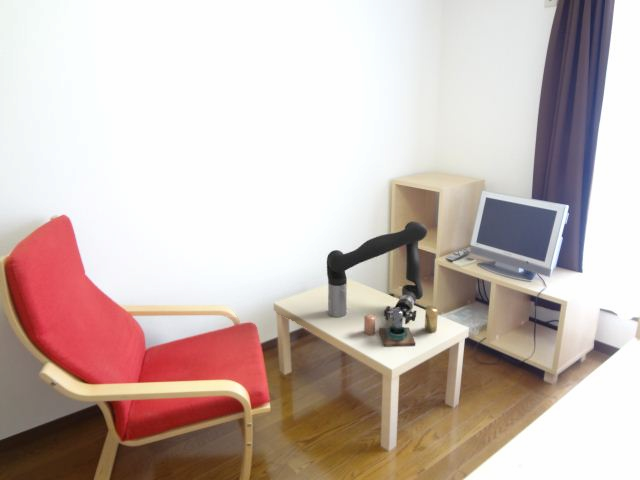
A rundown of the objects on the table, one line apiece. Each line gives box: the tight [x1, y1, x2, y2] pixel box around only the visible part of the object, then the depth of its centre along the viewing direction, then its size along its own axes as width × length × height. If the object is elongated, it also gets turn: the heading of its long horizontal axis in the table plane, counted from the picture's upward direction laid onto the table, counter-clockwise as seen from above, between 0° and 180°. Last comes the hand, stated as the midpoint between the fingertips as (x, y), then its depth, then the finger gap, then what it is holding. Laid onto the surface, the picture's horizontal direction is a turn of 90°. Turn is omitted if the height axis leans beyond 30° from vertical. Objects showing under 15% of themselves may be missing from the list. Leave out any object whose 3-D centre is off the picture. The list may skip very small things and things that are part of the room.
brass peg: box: [423, 305, 439, 334], centre depth 211 cm, size 6×6×11 cm
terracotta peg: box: [363, 314, 376, 336], centre depth 210 cm, size 5×5×8 cm
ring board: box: [378, 325, 416, 347], centre depth 206 cm, size 14×14×4 cm
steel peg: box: [391, 309, 404, 334], centre depth 204 cm, size 4×4×12 cm
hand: (396, 320), depth 202 cm, fingers open, 8 cm apart
